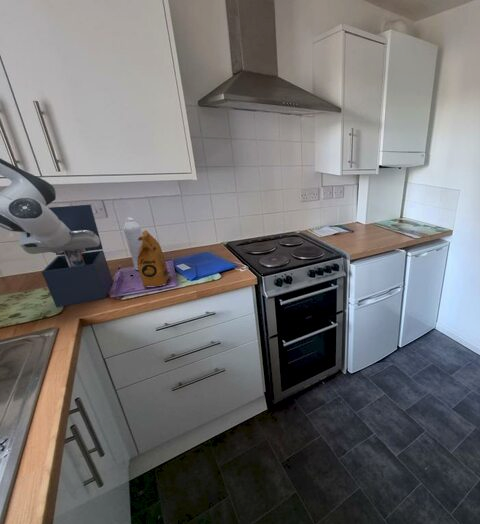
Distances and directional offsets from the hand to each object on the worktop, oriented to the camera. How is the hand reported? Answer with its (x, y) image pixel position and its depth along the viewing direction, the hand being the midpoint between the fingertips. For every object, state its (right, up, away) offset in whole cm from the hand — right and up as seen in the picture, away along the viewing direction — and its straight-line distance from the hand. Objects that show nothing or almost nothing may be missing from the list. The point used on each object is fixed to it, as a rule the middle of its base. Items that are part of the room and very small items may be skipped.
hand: (72, 252), depth 114 cm
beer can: (0, -7, +2) cm, 7 cm away
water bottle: (+7, -7, +29) cm, 31 cm away
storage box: (0, -16, +6) cm, 17 cm away
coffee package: (+22, -13, +15) cm, 30 cm away
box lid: (-5, +9, +5) cm, 11 cm away
